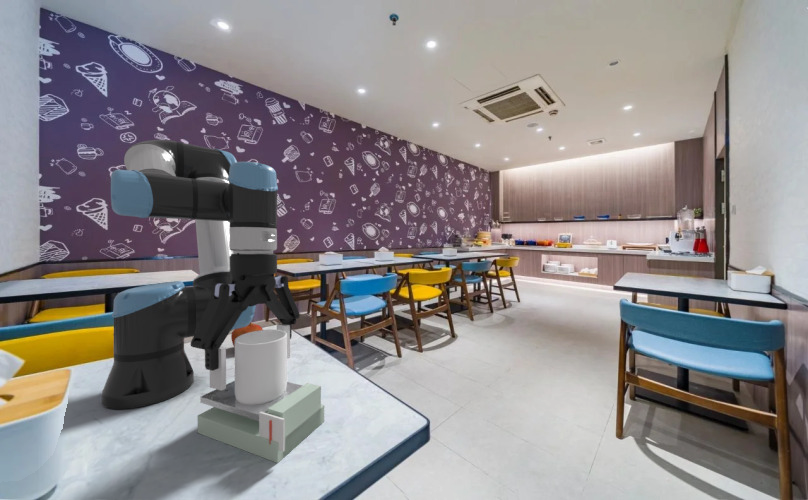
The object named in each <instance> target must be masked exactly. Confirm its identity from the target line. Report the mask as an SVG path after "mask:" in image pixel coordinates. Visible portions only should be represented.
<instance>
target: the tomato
mask: <svg viewBox="0 0 808 500" xmlns="http://www.w3.org/2000/svg"><path fill="white" fill-rule="evenodd" d="M260 330H264V329H263V328H262V326H261V325H259V324H256V323H254V322H251V323H250V324H249V325H248V326H246V327H243V328H238V329H234V330H232V332H231V342H232V345H233V347H234V348H235V339H236V338H237V337H238V336H240V335H243V334H246V333H249V332H254V331H260Z"/></svg>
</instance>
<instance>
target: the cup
mask: <svg viewBox="0 0 808 500" xmlns="http://www.w3.org/2000/svg"><path fill="white" fill-rule="evenodd" d="M234 381H235V397H236V399H237V401H238V402H240V403H242V404H245V405H257V404H263V403H267V402H270V401H272V400H275V399H276V398H278V397H280V396H281V395H282V394H283V393H284V392H285V390H286V387H287V382H288V359H287V333H286V332H284V331H281V330H277V329H263V330H260V331H254V332H249V333H246V334H243V335H240V336H238V337H237V338H236V339H235V347H234Z"/></svg>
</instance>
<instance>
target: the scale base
mask: <svg viewBox="0 0 808 500" xmlns="http://www.w3.org/2000/svg"><path fill="white" fill-rule="evenodd" d="M321 397H322V386H320V385H318V384H313V383H309V382H308V383H305V384H304V385H302V387H301V388H299V389H297V390H296V391H294V392H293V393H291V394H290V395H288V396H287V397H285V398H283V399H282V400H280V401H279V402H277V403H276V404H274V405H273V406H271V407H269V408H268V414H267V413H264V412H259V421H257V420H254V419H251V418H247V417H244V416H241V415H238V414H235V413H232V412H229V411H225V410H222V409H219V408H216V407H213V406H212V407H211V408H209V409H207V410H205V411H204V412H201V413H199V414H198V415H197V434H200V435H203V436H205V437H208V438H210V439H213V440H215V441H218V442H220V443H224V444H226V445H229V446H232V447H234V448H236V449H239V450H242V451H245V452H248V453H250V454H252V455H255V456H258V457H261V458H263V459H266V460H268V461H271V462H274V463H276V464H278V463H280V462H281V461H282V460H283V459H284V458H286V457H287V455H288V454H290V453H291V452H292V451H293V450H294V449H295V448H296V447H297V446H299V445H300V444H301V443H302V442H303V441H304V440H305V439H306V438H308V437H309V436H310V435H311V434H312V433H313V432H315V431H316V430H317V429H318V428H319V427H320V426H321V425H322V424H323V423H324V422H325V405H324V404H321V403H322V398H321Z"/></svg>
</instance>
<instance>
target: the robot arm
mask: <svg viewBox="0 0 808 500" xmlns="http://www.w3.org/2000/svg"><path fill="white" fill-rule="evenodd" d="M123 159H124V160H123V162H124V166H125V168H126V169H115V170H114V171H112V172H111V175H110V203H111V209H112V211H113V212H114V214H117V215H118V216H127V217H137V218H140V219H146V218H150V219H151V218H153V219H170V220H171V219H173V220H174V219H176V220H177V219H178V220H194V221H195V230H196V232H195V233H196V240H197V241H196V243H197V255H198V266H199V267H198V268H199V274H198V275H197V276H196V277H195V278H193V280H192V286H186V287H185V284H184V282H183V281H179V280H177V281H175V280H174V281H165V282H164V281H163V282H157V283H152V284H146V285H140V286H136V287H133V288H128V289H125V290H123V291H121V292H119V293H117V294H116V295H115V297H114V299H113V309H112V312H113V313H112V314H111V317H112V319H113V363H112V367H111V368H110V371H109V374H108V377H107V379H106V382H105V384H104V387H103V389H102V393H101V404H102V406H103V407H105V408H106V409H112V410H129V409H136V408H141V407H145V406H149V405H153V404H157V403H160V402H163V401H167V400H169V399H171V398H173V397H176V396H178V395H180V394H182V393H183V392H185V391H186V390H188V389H190V387H192V385H194V381H195V380H194V379H195V375H194V374H195V373H194V372H195V371H194V369H193V367H192V364H191V362H190V360H189V357H188V355H187V353H186V351H185V339H186V338H192V339H191V340H190V344H189V345H190V347H192V348H195V349H199V350H203V351H204V367H205V369H206V370H209V388H211V389H214V390H216V389H218V390H221V391H222V390H224V389H226V384H227V347H225V346H222V345H223V343H224V342H225V340H226V339H227V337H228V335H229V334H230V332H231V331H232V332H233V331H234V330H235V329H238V328H243V327H246V326H248V325H249V324H250V323H252V321H253V319H254V316H255V312H256V306H257V305H258V304H259V305H263V304H265V306H266V307H267V308H268V309H269V310H270V312H271V313H272V314H273V315H274V316H275V318H277V320H278V321H279V323H278V324H276V330H281V331H284V332H286V333H287V360H288V359H290V358H291V339H292V335H293V334H292V333H293V332H292V329H293V328H292V325H296V323H297V320H298V319H299V318H300V315H301V314H300V312H299V310H298V307H297V304H296V301H295V300H294V297H293V295H292V292H291V290H290V286H289V277H288V276H287V275H275V274H276V273H277V272H278V255H277V254H276V253H274V251H276V250H277V249H278V230H277V228H278V191H279V187H278V179H277V172H276V170H275V169H274V168H273V167H272V166H270V165H267V164H263V163H260V162H254V161H237V158H236V157H235V156H234V154H232V153H231V152H229V151H226V150H221V149H219V148H211V147H210V148H209V147H204V146H200V145H194V144H192V143H191V144H190V143H184V142H181V141H180V142H179V141H175V140H171V139H169V140H168V139H152V140H145V141H140V142H138V143H134V144H133V145H131V146H130V147H129V148H128V149H127V150H126V151H125V154H124V158H123ZM274 290H275V291H274Z"/></svg>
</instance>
